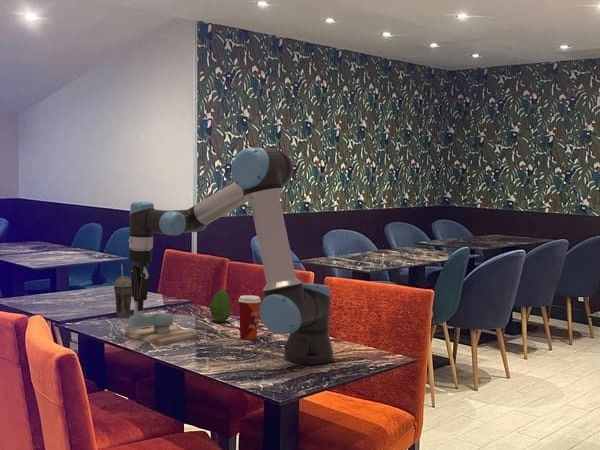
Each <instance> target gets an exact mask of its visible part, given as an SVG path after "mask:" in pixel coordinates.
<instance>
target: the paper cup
mask: <svg viewBox="0 0 600 450" xmlns="http://www.w3.org/2000/svg"><path fill="white" fill-rule="evenodd" d="M237 302H239V303H238V307H239V310H238V311H239V315H238V317H239V339H241V340H246V341H247V340H249V341H252V340H256V339H257V335H258V327H259V318H260V306H261V303H262V300H261V298H260V296H257V295H249V294H248V295H245V294H244V295H240V297H239V299H237Z"/></svg>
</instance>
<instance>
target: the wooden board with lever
mask: <svg viewBox="0 0 600 450" xmlns="http://www.w3.org/2000/svg"><path fill="white" fill-rule="evenodd" d="M124 336H125V337H127V338H131V339H136V340H139V341H143V342H147V343H150V344H154V345H158V346H166V345H169V344H175V343H178V342H183V341H188V340H192V339H197V338H199V333H198V332H196V331H192V330H187V329H184V328H179V327H175V326H172V325H169V326H145V327H139V328H135V329H130V330H125V332H124Z"/></svg>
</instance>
